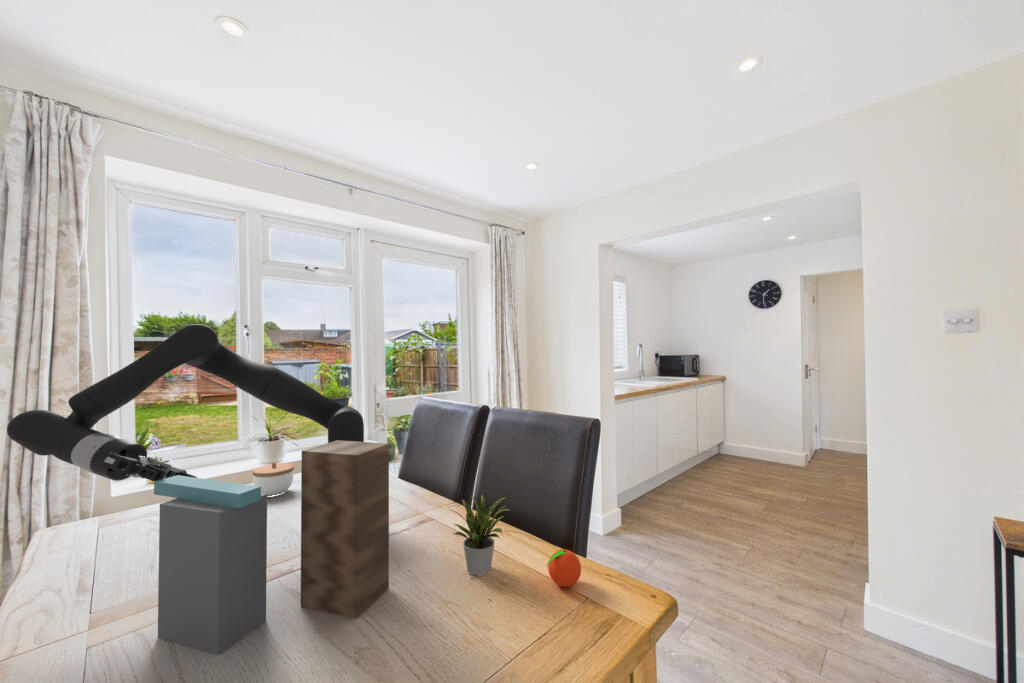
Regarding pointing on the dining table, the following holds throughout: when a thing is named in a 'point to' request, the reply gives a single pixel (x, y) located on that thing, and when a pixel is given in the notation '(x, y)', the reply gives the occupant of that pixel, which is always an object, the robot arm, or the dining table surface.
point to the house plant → (479, 537)
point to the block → (208, 491)
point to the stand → (344, 526)
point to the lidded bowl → (273, 478)
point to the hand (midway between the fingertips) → (178, 479)
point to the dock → (211, 572)
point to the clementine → (564, 568)
